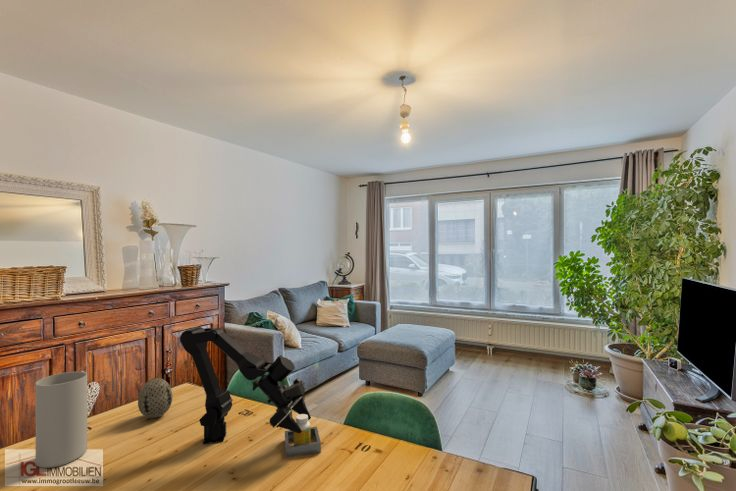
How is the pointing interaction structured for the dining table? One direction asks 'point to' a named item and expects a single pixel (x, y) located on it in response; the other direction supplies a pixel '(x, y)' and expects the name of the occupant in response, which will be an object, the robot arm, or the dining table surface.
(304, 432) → the supplement bottle
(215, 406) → the robot arm
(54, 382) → the cylinder vase
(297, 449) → the collar
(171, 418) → the dining table surface
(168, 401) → the decorative egg
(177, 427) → the dining table surface
